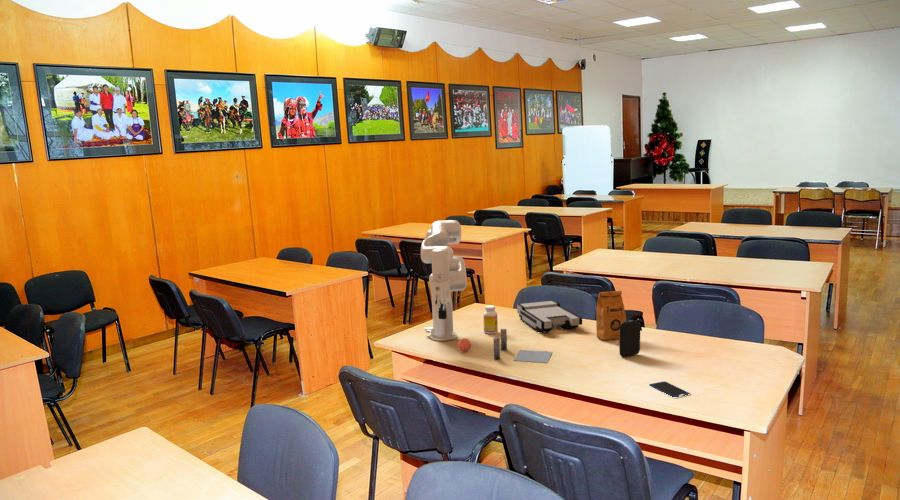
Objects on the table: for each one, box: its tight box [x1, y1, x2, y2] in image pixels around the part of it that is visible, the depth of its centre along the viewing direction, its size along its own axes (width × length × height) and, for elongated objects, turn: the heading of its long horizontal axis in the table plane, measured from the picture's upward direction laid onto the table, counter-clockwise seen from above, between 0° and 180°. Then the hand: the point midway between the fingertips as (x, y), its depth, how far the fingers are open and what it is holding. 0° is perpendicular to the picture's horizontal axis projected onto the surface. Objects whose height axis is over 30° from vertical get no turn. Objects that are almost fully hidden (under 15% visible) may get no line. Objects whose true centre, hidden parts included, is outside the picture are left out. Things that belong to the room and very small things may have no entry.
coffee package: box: [595, 290, 627, 341], centre depth 275 cm, size 10×12×22 cm
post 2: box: [500, 328, 508, 352], centre depth 265 cm, size 3×3×9 cm
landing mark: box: [513, 349, 553, 364], centre depth 255 cm, size 14×14×1 cm
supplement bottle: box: [482, 304, 499, 335], centre depth 292 cm, size 7×7×13 cm
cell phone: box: [648, 381, 691, 398], centre depth 215 cm, size 7×14×1 cm, turn 21°
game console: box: [516, 300, 583, 334], centre depth 301 cm, size 21×32×8 cm, turn 14°
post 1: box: [492, 336, 501, 361], centre depth 253 cm, size 3×3×9 cm
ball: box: [457, 338, 472, 353], centre depth 264 cm, size 6×6×6 cm
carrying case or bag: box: [618, 319, 643, 358], centre depth 251 cm, size 11×3×15 cm, turn 111°
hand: (442, 318), depth 265 cm, fingers closed
